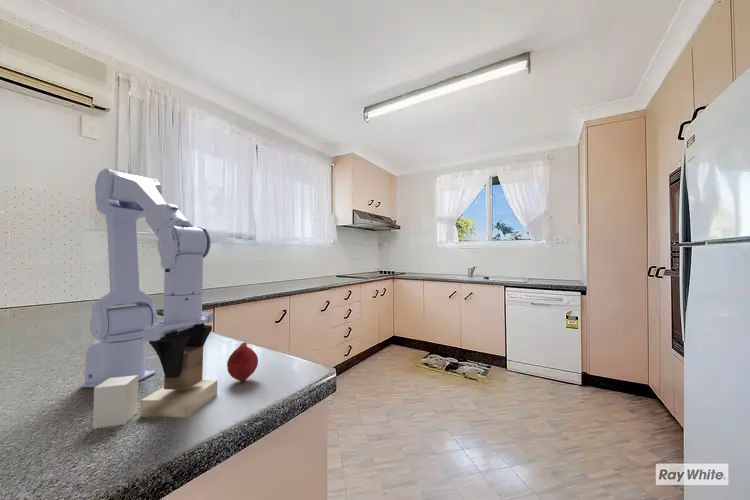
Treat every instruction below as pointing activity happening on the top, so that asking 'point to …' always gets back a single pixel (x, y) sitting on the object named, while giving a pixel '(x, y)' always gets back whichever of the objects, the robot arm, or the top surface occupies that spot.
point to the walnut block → (188, 370)
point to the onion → (242, 362)
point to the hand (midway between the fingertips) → (182, 371)
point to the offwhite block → (115, 401)
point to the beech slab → (178, 400)
